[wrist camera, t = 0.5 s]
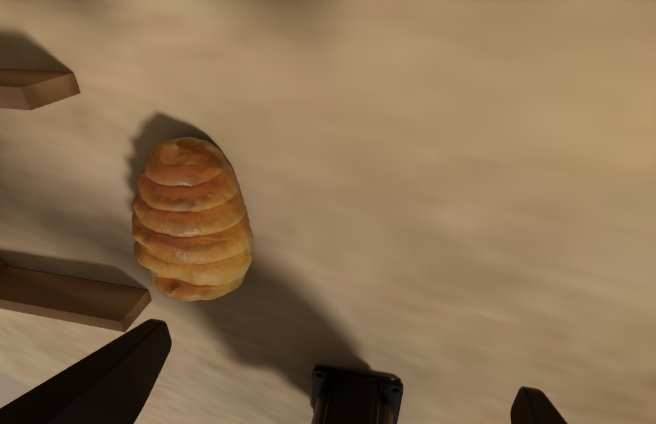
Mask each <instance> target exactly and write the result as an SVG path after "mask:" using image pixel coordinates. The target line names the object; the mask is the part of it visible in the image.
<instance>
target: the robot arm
mask: <svg viewBox="0 0 656 424" xmlns="http://www.w3.org/2000/svg"><path fill="white" fill-rule="evenodd" d="M171 345H172V341H171V337H170V334H169V330H168V327H167V324H166V322H165V321H162V320H157V319H149V320H147V321H145V322H143V323H142V324H140V325H138V326H137V327H135V328H133V329H132V330H130V331H128V332H127V333H125V334H123V335H122V336H120V337H118V338H117V339H115V340H113V341H112V342H110V343H108V344H107V345H105V346H103V347H102V348H100V349H98V350H97V351H95V352H94V353H92V354H90V355H89V356H87V357H85V358H84V359H82V360H80V361H79V362H77V363H75V364H74V365H72V366H70V367H69V368H67V369H65V370H64V371H62V372H60V373H59V374H57V375H55V376H54V377H52V378H50V379H49V380H47V381H45V382H44V383H42V384H40V385H39V386H37V387H35V388H34V389H32V390H30V391H29V392H27V393H25V394H24V395H22V396H20V397H19V398H17V399H15V400H14V401H12V402H10V403H9V404H7V405H5V406H4V407H2V408H0V424H134V422H135V420H136V419H137V417H138V415H139V414H140V412H141V410H142V408H143V406H144V405H145V403H146V401H147V399H148V397H149V395H150V392H151V390H152V388H153V386H154V384H155V382H156V380H157V377H158V375H159V373H160V371H161V369H162V367H163V365H164V362H165V360H166V358H167V356H168V354H169V352H170V349H171ZM402 395H403V384H402V383H401V382H399V381H395V380H390V379H384V378H379V377H374V376H369V375H363V374H358V373H353V372H348V371H342V370H337V369H332V368H326V367H321V366H316V367H315V368H314V370H313V410H314V415H313V419H312V423H311V424H397V421H398V416H399V410H400V405H401V400H402ZM511 424H567V422H566V421H565V420H564V418H563V417H562V416H561V415H560V413H559V412H558V411H557V409H556V408H555V407H554V406H553V404H552V403H551V402H550V400H549V399H548V398H547V397H546V395H545V394H544V393H543V392H542V391H541V390H539V389H535V388H530V387H521V388H520V389H519V391H518V393H517V395H516V398H515V400H514V402H513V405H512V407H511Z"/></svg>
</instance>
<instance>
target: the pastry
mask: <svg viewBox="0 0 656 424" xmlns="http://www.w3.org/2000/svg"><path fill="white" fill-rule="evenodd" d="M137 180H138V185H139V190H138V191H137V193H136V195H135V198H134V201H133V203H132V204H133V208H134V210H135V212H134V213H133V215H132V225H133V229H132V235H133V238H134V239H135V240H136V242H135V246H134V250H135V255H136V258H137V261H138V263H140V264H141V265H142V266H144V267H146V268H148V269H149V272H150V274H151V279H152V282H151V284H152V285H153V286H154V287H155V288H156V289H157V291H159V292H160V293H162V294H164V295H165V296H167V297H171V298H174V299H177V300H180V301H186V302H189V301H195V300H212V299H216V298H218V297H221V296H223V295H225V294H227V293H229V292H231V291H233V290H235V289H237V288H238V287H239V286H240V285H241V284H242V282H243V280H244V277H245V275H246V272H247V270H248V268H249V266H250V264H251V262H252V256H253V235H252V231H251V228H250V222H249V218H248V213H247V209H246V206H245V204H244V200H243V197H242V194H241V190H240V187H239V184H238V181H237V178H236V175H235V172H234V170H233V168H232V167H231V165H230V164H229V163H228V161H227V160H226V158H225V156H224V155H223V153H222V152H221V150H220V149H219V148H217V147H216V146H214V145H213V144H212V143H210V142H209V141H206V140H201V139H197V138H194V137H181V138H176V139H168V140H163V141H161V142H160V143H159V144H157V145H156V146H155V147H154V148H152V149H151V150H150V151H149V152H148V155H147V159H146V164H145V167H144V169H143V171H142V172H141V174H140V175H139V176H138V178H137Z"/></svg>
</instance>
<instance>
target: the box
mask: <svg viewBox="0 0 656 424" xmlns="http://www.w3.org/2000/svg"><path fill="white" fill-rule="evenodd" d="M79 93H80V90H79V87H78V85H77V82H76V79H75V76H74V73H64V72H47V71H30V70H13V69H0V108H9V109H21V110H33V109H36V108H39V107H42V106H44V105H47V104H50V103H53V102H56V101H59V100H62V99H65V98H68V97H71V96H73V95H76V94H79ZM151 300H152V299H151V297H150V294H149V291H148V290H145V289H139V288H133V287H127V286H121V285H115V284H109V283H103V282H97V281H91V280H85V279H79V278H73V277H67V276H61V275H56V274H50V273H44V272H38V271H32V270H26V269H20V268H14V267H8V266H4V264H3V263H2V261H1V259H0V308H1V309H7V310H12V311H17V312H22V313H27V314H33V315H38V316H43V317H48V318H53V319H59V320H64V321H69V322H74V323H80V324H85V325H90V326H95V327H100V328H106V329H111V330H116V331H121V332H126V330H127V329H128V328H129V327H130V326H131V324H132V323H133V322H134V321H135V320H136V318H137V317H138V316H139V315H140V314H141V312H142V311H143V310H144V309H145V308H146V306H147V305H148V304H149V303H150V301H151Z"/></svg>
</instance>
